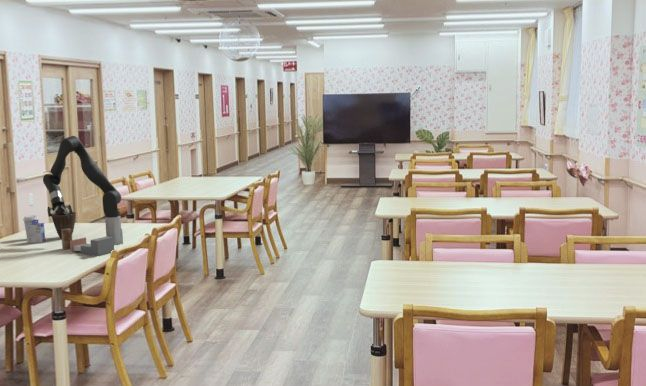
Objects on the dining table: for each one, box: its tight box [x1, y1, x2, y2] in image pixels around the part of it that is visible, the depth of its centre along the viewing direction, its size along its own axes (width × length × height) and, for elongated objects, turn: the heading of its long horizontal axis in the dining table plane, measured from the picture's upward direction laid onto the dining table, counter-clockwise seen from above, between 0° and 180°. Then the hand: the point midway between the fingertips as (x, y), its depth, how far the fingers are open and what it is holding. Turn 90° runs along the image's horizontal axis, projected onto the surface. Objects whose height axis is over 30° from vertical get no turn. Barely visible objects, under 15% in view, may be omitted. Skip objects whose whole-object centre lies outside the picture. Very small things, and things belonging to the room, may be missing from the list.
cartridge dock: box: [80, 235, 115, 257], centre depth 428 cm, size 15×12×9 cm
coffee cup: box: [22, 214, 39, 236], centre depth 476 cm, size 10×10×15 cm
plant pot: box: [52, 211, 77, 240], centre depth 478 cm, size 15×15×16 cm
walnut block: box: [61, 228, 73, 251], centre depth 442 cm, size 5×5×12 cm
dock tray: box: [69, 237, 91, 252], centre depth 434 cm, size 10×11×6 cm
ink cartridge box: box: [25, 219, 46, 244], centre depth 464 cm, size 10×6×14 cm, turn 89°
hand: (62, 220), depth 449 cm, fingers open, 8 cm apart
